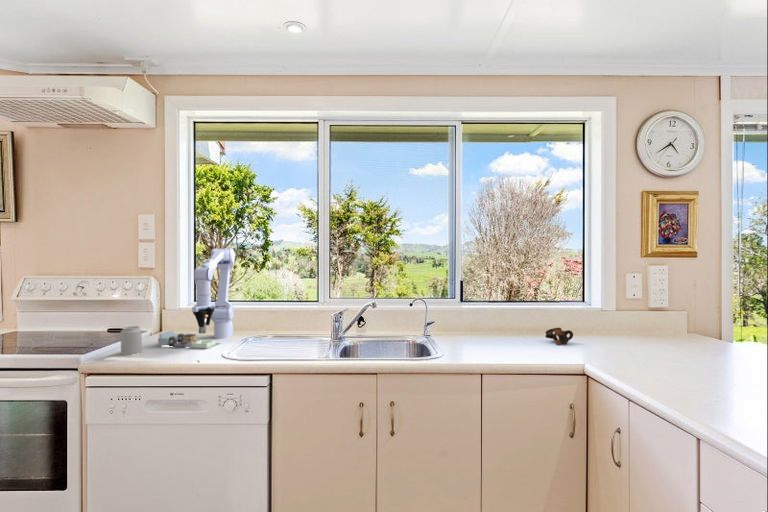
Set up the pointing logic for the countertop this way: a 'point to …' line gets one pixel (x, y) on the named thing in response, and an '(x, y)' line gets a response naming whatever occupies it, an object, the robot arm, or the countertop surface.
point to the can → (131, 340)
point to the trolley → (169, 338)
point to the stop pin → (204, 326)
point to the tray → (204, 344)
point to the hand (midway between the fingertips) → (204, 326)
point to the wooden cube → (189, 338)
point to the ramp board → (186, 345)
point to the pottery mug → (559, 335)
